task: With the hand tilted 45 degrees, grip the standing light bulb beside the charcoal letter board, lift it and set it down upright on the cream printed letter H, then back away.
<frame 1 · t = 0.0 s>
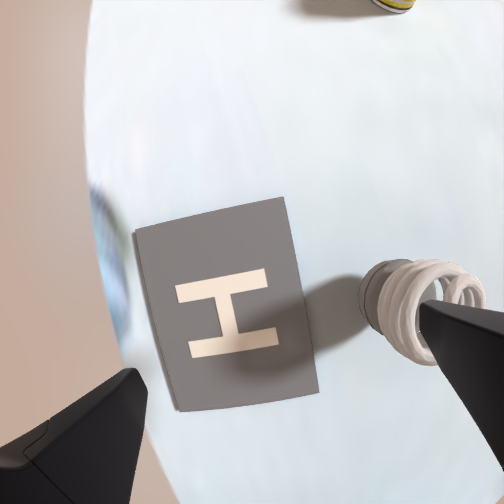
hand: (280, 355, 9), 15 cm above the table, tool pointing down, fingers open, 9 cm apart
light bulb: (377, 289, 24), on the table
letter board: (227, 313, 24), on the table
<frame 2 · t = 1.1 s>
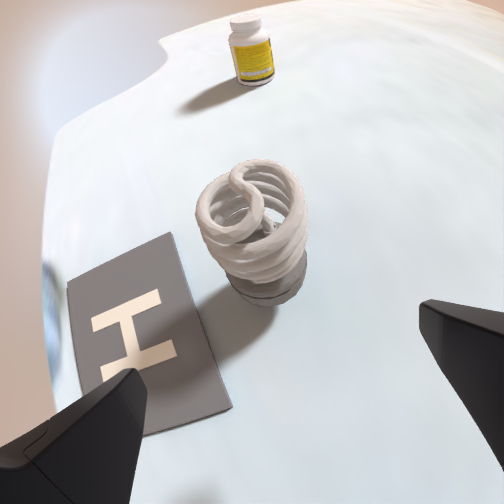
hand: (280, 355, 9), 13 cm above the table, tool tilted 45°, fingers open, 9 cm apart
supplement bottle: (256, 78, 40), on the table
light bulb: (272, 287, 24), on the table
letter board: (133, 338, 24), on the table
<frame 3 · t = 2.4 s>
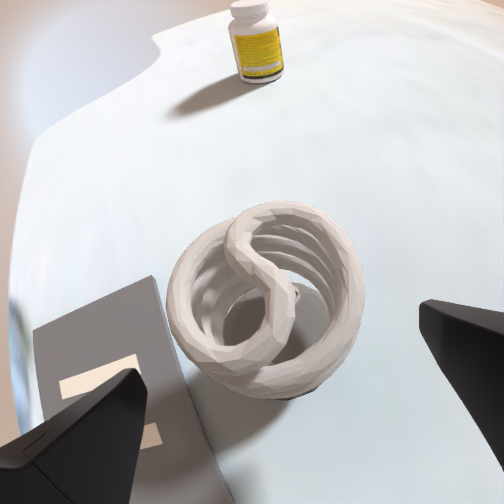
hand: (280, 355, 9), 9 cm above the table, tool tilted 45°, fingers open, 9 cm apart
supplement bottle: (262, 75, 33), on the table
light bulb: (287, 358, 18), on the table
letter board: (109, 412, 17), on the table
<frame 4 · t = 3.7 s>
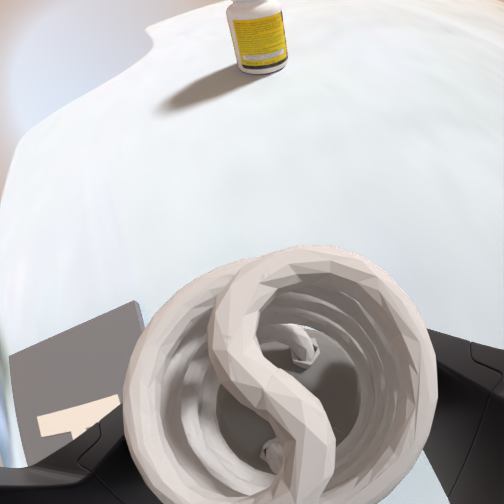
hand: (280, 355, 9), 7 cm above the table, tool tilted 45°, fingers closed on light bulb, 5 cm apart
supplement bottle: (263, 65, 29), on the table
light bulb: (296, 405, 14), on the table, touching gripper
letter board: (92, 454, 13), on the table
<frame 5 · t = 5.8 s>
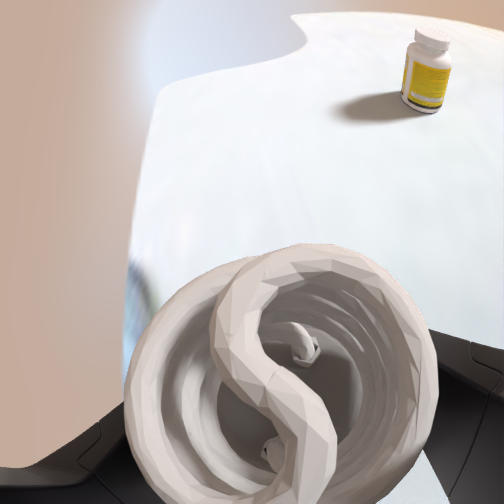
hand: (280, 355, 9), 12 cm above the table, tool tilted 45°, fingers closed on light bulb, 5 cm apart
supplement bottle: (420, 102, 31), on the table
light bulb: (296, 404, 14), point 5 cm above the table, touching gripper
when the fingers open (8 cm above the table, at t = 7.9 s): light bulb stays where it is, resting on letter board.
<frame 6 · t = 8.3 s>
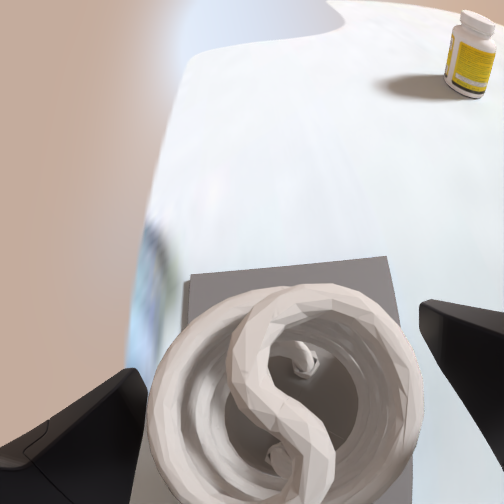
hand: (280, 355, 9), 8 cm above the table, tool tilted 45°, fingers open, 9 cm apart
supplement bottle: (463, 87, 26), on the table
light bulb: (296, 408, 15), point 1 cm above the table, touching letter board
letter board: (297, 405, 15), on the table
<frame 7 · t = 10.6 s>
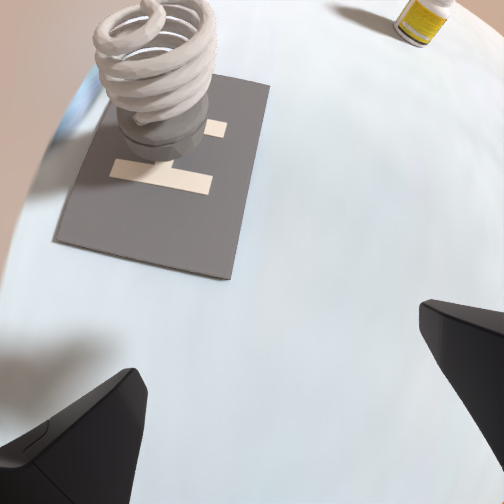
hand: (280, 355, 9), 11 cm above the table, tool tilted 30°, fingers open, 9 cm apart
supplement bottle: (409, 36, 31), on the table
light bulb: (168, 150, 21), resting on letter board
letter board: (169, 152, 21), on the table
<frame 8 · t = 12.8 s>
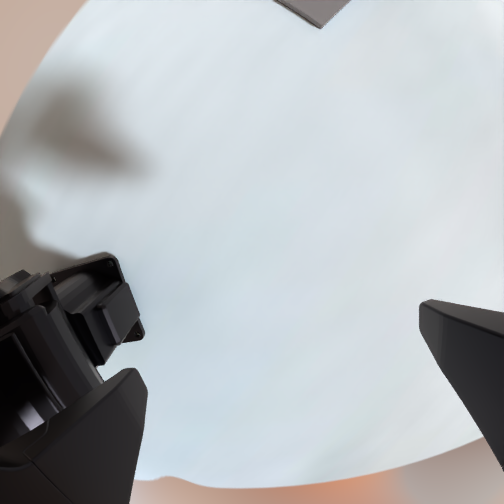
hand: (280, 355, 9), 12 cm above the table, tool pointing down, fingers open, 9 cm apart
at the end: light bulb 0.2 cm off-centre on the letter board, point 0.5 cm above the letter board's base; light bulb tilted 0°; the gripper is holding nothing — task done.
